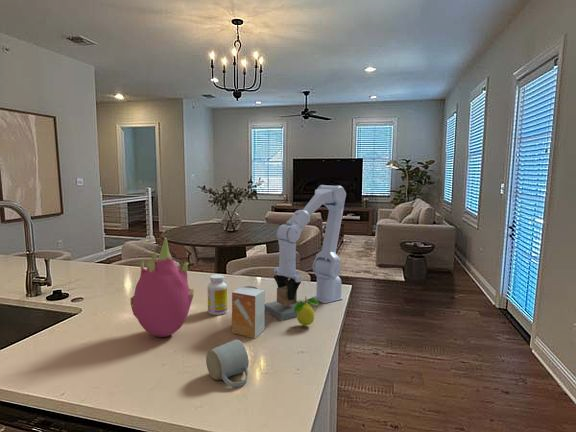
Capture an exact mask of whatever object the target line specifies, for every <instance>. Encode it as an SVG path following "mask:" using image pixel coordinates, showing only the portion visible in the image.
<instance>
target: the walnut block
mask: <svg viewBox="0 0 576 432" xmlns="http://www.w3.org/2000/svg"><path fill="white" fill-rule="evenodd" d="M297 295H298V292H296V295H295V299H293V300H289V299H288V290H287V286H284V287H279V288H278V287H276V301H277V302H278V303H280V304H282V305H284V306H287V305H291V304H295V303H297V301H298V299H297V298H298V297H297Z"/></svg>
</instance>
